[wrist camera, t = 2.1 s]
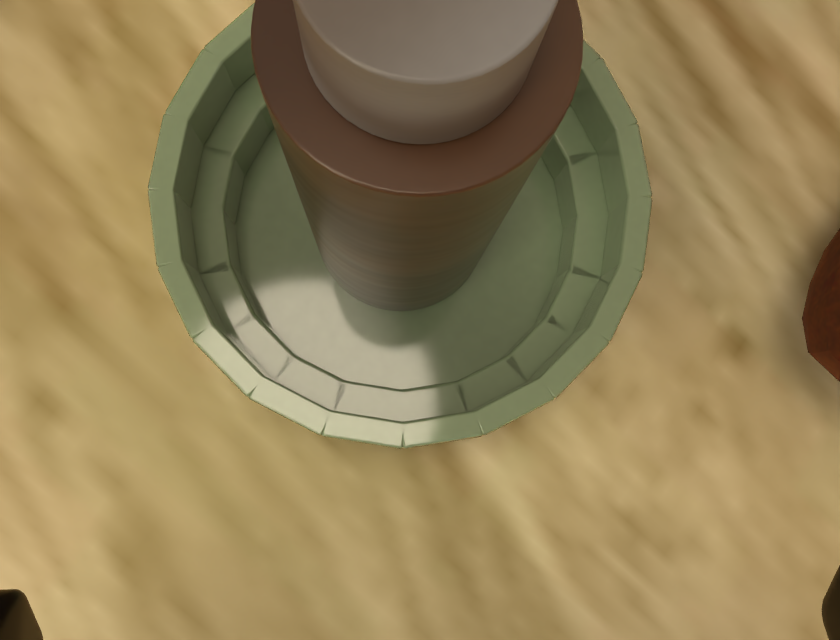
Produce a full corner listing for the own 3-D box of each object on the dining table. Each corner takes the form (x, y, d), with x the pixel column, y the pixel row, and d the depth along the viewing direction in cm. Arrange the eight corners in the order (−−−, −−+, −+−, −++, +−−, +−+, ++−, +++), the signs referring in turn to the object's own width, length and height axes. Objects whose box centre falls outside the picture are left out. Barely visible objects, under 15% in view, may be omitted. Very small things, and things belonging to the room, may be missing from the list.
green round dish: (687, 237, 23) (750, 198, 19) (398, 532, 21) (402, 557, 17) (401, -39, 24) (405, -133, 20) (103, 230, 22) (42, 186, 18)
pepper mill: (518, 229, 22) (710, -43, 9) (399, 346, 21) (426, 229, 9) (401, 114, 22) (426, -308, 9) (281, 226, 22) (133, -61, 9)
